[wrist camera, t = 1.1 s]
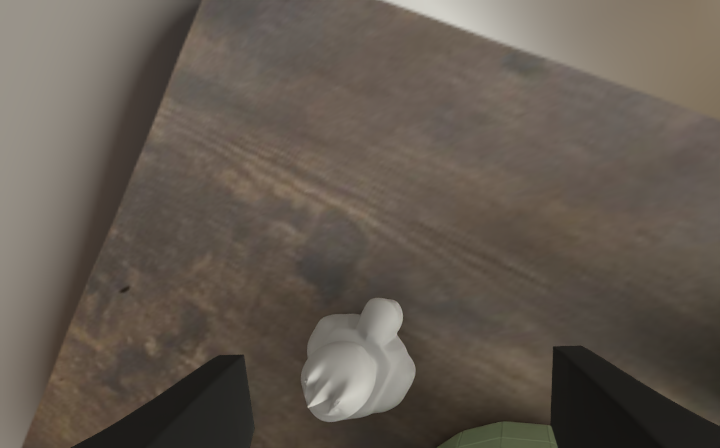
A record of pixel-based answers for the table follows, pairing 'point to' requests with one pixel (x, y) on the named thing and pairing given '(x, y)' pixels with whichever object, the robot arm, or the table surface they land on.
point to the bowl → (504, 436)
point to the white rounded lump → (357, 363)
